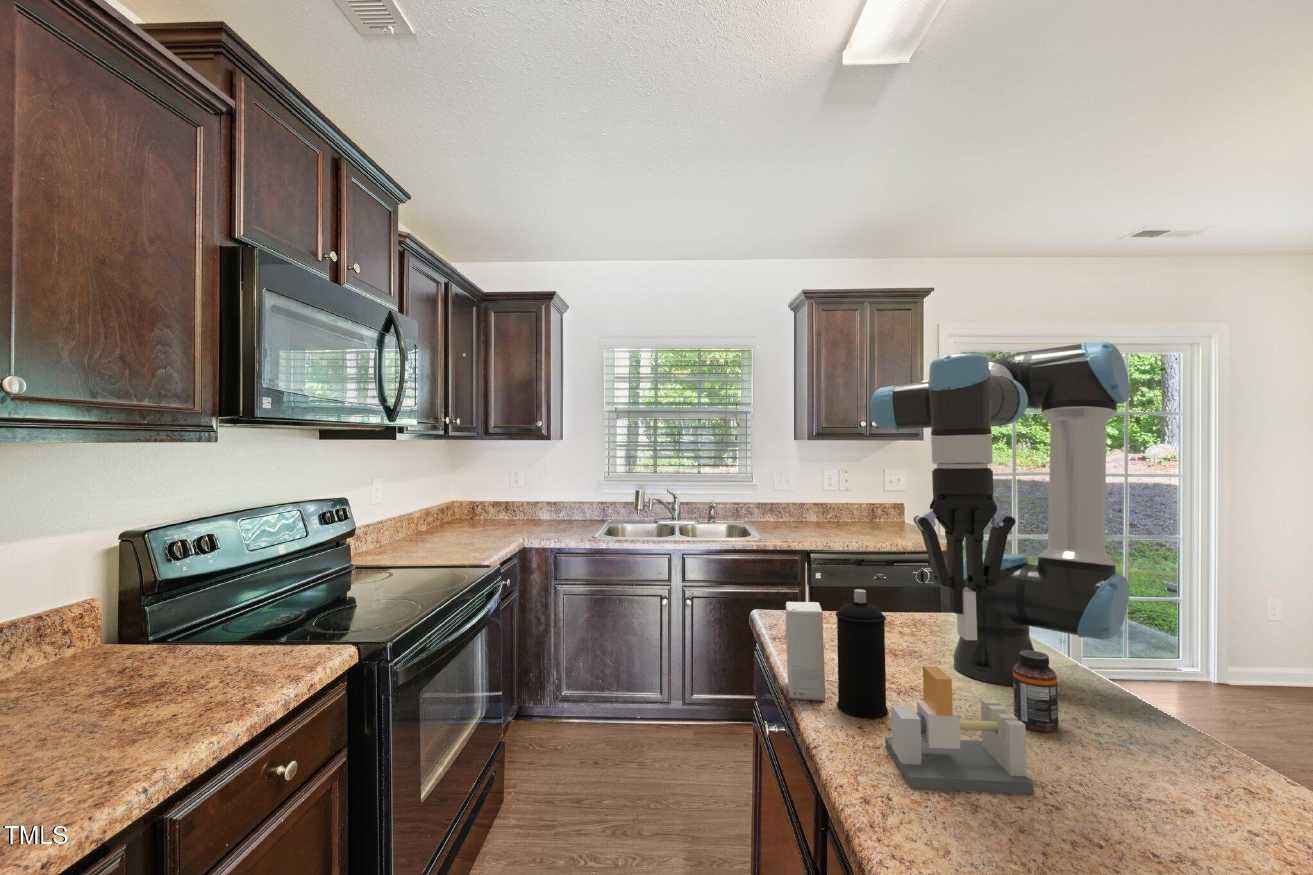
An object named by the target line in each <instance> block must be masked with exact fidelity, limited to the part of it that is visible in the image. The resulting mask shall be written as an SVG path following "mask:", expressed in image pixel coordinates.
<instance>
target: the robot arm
mask: <svg viewBox="0 0 1313 875" xmlns="http://www.w3.org/2000/svg"><path fill="white" fill-rule="evenodd" d="M928 375H929V377H928V379H925V380H921V381H916V382H912V383H905V384H899V385H898V384H897V385H896V384H893V385H890V386H884V387H880V388H878V389H876V390H875V392H874V393H873V394H872V397H871V399H870V412H871V413H870V414H871V415H870V416H871V418H872V420H873V422H874V424H875V425H876V427H878V428H880V429H881V430H885V431H886V430H889V431H891V430H893V431H900V430H913V429H915V430H916V429H931V432H930V439H931V440H930V443H931V463H932V464H933V465H936V468H933V470H931V474H932V475H931V478H932V479H931V480H932V496H933V497H932V501H931V503H930V504H929V509H928V510H927V511H926V512H924V513H923V514H921V515H916V516H914V517H913V522H914V523H915V525H916V527H917V528H918V530H920V532H921V536H922V538H923V543H924V546H925V549H926V554H927V557H928V560H929V561H928V562H929V564H930V567H931V572H932V574H933V578H934V581H935V582H936V583H938V584H940V585H941V586H943V587H947V588H948V590H949V608H950V610H951V611H950V612H953V613H954V614H955V615H956V625H957V628H956V629H957V635H958V636H959V638H958V641H957V644H956V646H955V649H954V653H953V667H954V669H955V670H956V671H957V672H959V673H961V674H962V675H964V676H966V677H969V678H973V679H976V680H979V681H983V682H987V683H991V684H998V685H1006V686H1013V667H1014V666H1015V665H1016V664H1017V663H1018V662H1019V661H1020V660H1019V652H1020V651H1023V650H1032V651H1036V650H1035V648H1034V645H1033V643H1032V640H1031V638H1030V637H1031V635H1030V627H1033V628H1036V629H1037V628H1038V629H1042V630H1047V631H1053V632H1057V633H1058V632H1059V633H1064V634H1069V635H1074V636H1077V637H1079V638H1089V639H1096V640H1104V641H1105V640H1110V639H1112V638H1114V637H1115V636H1117V634H1118V633H1119V632H1120V630H1121V628H1122V626H1123V624H1124V621H1125V618H1126V614H1127V611H1128V606H1129V605H1128V604H1129V598H1130V591H1129V582H1128V579H1127V578H1126V576H1125V575H1122V574H1120V573H1117V570H1116V569H1117V568H1116V566H1117V565H1116V562H1114V560H1112V559H1111V558H1110V557H1109V556H1108V555H1107V553H1106V499H1107V497H1106V496H1107V495H1106V486H1107V485H1106V483H1107V481H1106V480H1107V479H1106V478H1107V472H1106V471H1107V464H1106V463H1107V423H1108V422H1109V421H1110V420H1111V419H1113V418H1114V417H1115V416H1117V413H1118V412H1117V411H1118V410H1117V409H1118V408H1117V407H1118V404H1120V405H1121V404H1123V403H1125V402H1127V401H1128V400H1129V399H1130V393H1131V392H1130V391H1131V390H1130V388H1131V387H1130V380H1129V375H1128V371H1127V367H1126V364H1125V360H1124V359H1123V355H1122V354H1121V352H1120V351H1119V349H1118V347H1117V346H1116V345H1115V344H1113V343H1111V342H1108V341H1100V342H1099V341H1098V342H1089V343H1087V342H1081V343H1079V344H1078V343H1077V344H1072V345H1071V344H1070V345H1065V346H1057V347H1049V348H1043V349H1042V348H1041V349H1035V350H1027V351H1019V352H1016V353H1012V354H1009V355H1006V356H1003V357H998V358H996V359H993V360H989V359H988V357H987V356H986V355H984V354H980V353H960V354H959V353H958V354H952V355H951V354H950V355H945V356H939V357H937V358H935V359H934V360H932V361H931V362H930V364H929V373H928ZM1027 409H1041V410H1040V411H1041V414H1040V415H1041V416H1042V417H1043V418H1044V419H1045V420H1046V421H1048V422H1049V424H1050V431H1049V434H1050V437H1049V438H1050V439H1049V442H1050V443H1049V476H1048V477H1049V478H1048V479H1049V480H1048V482H1049V483H1048V485H1049V486H1048V487H1049V489H1048V527H1047V528H1048V532H1047V533H1048V534H1047V535H1048V536H1047V537H1048V538H1047V548H1046V549H1044V550H1043V551H1042V552H1041V553H1039V554H1038V556H1037V564H1031V563H1029V559H1028V557H1027V555H1024V554H1016V553H1005V550H1006V546H1007V541H1008V540H1007V539H1008V537H1009V534H1010V532H1011V531H1012V529H1013V527H1014V525H1015V524H1016V518H1014V517H1013V516H1008V515H1007V514H1004V513H1003V512H1001V511H1000V510H998V507H997V504H996V502H995V500H994V472H993V471H994V470H992V468H991V467H988V465H989V464H992V463H993V441H992V439H993V438H992V427H1003V426H1005V425H1007V426H1008V425H1010V424H1013V423H1016V422H1017V421H1018V420H1019V419H1021V417H1023V415H1024V414H1025V413H1026V410H1027ZM936 520H937V522H938V523H939V524H940V525H941V527H942V528H943V529H944V536H945V539H946V560H947V561H946V562H947V565H946V562H945V558H944V555H943V551H942V548H941V544H940V541H939V537H938V534H937V531H936V530H935V527H936V524H937V523H936ZM990 523H991V528H990V531H989V535H988V540H987V546H986V549H985V554H983V553H984V551H983V549H984V548H983V542H984V539H985V535H984V534H985V533H984V530H985V529H986V527H987V526H988V525H989V524H990ZM964 541H965V559H964Z"/></svg>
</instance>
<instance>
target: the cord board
mask: <svg viewBox="0 0 1313 875" xmlns="http://www.w3.org/2000/svg"><path fill="white" fill-rule="evenodd" d="M890 709H891V710H890V711H891V736H885V737H884V740H885V748H886V751H887V752H888V754H889V755H890V757H891V759H892V761H893V763H895V766H896V768H898V770H899V772H900V774H901V775H902V777H903V779H904V780H905V782H906V784H907V785H908V787H909V788H910V789H911V790H921V791H922V790H925V791H942V792H943V791H945V792H962V793H963V792H966V793H983V794H984V793H989V794H1005V795H1006V794H1007V795H1011V794H1012V795H1026V796H1027V795H1029V796H1031V795H1032V796H1034V781H1032V780H1031V779H1030V778H1029V777H1028V768H1027V767H1028V766H1027V763H1028V761H1027V738H1026V737H1027V735H1026V734H1027V731H1026V730H1027V728H1026V725H1025V724H1024V723H1022V722H1021V721H1018V719H1017V717H1015V715H1014V713H1013V714H1012V713H1009V714H1008V709H1007V708H1006V707H1005V706H1003V705H1001V702H999V701H998V700H996V699H982V698H981V699H980V710H981V711H980V712H981V720H972V719H971V720H967V719H966V720H965V719H960V731H981V740H975V739H974V740H973V739H972V740H970V739H969V740H968V739H967V740H966V739H960V749H952V748H929V747H928V745H927V744H926V743H925V741H924V740H923V739H922V737H921V734H923V733H924V728H926V724H925V719H923V717H922V715H921V713H917V712H916V711H914V709H913V708H912V707H911V705H904V704H903V705H902V704H891V706H890Z"/></svg>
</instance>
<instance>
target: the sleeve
mask: <svg viewBox="0 0 1313 875" xmlns="http://www.w3.org/2000/svg"><path fill="white" fill-rule="evenodd" d="M922 686H923V687H922V688H923V689H922V690H923V691H922V692H923V700H917V701H916V708H917V710H916V713H921V715H922V717H923V719H925V724H926V728H924V733H923V734H921V738H922V739H923V740H924V741H925V743H926V744H927V745H928V747H929V748H952V749H960V740H961V730H960V720H961V719H960V715H959V713H958V712H957V711H956V710H955V709H954V708H953V680H952V678H951V677H950V676H949V675H948V674H947V673H946V672H944V671H943V670H942V668H940V667H939V666H938V665H937V666H935V665H934V666H933V665H931V666H930V665H923V666H922Z"/></svg>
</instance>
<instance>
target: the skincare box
mask: <svg viewBox="0 0 1313 875" xmlns="http://www.w3.org/2000/svg"><path fill="white" fill-rule="evenodd" d="M823 619H824V618H823V609H822V607H821V605H820V602H816V601H815V602H814V601H786V602H785V640H786V641H785V642H786V643H785V644H786V665H787V670H786V671H787V683H788V684H787V686H788V694H789V695H788V696H789V698H790V699H794V700H804V701H805V700H806V701H807V700H808V701H809V700H810V701H825V700H826V680H825V653H824V652H825V651H824V649H825V648H824V647H825V646H824V623H823V622H824V620H823Z"/></svg>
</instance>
